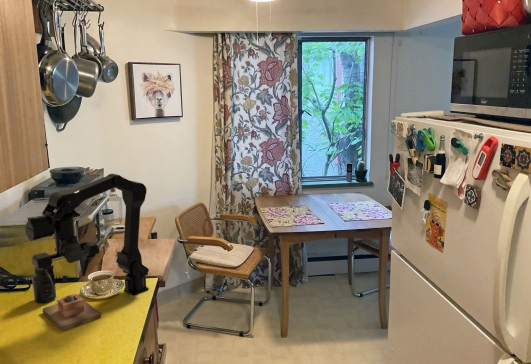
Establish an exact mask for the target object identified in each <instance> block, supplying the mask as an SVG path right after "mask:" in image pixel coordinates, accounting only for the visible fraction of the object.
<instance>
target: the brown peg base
mask: <svg viewBox="0 0 531 364" xmlns="http://www.w3.org/2000/svg"><path fill="white" fill-rule="evenodd" d="M66 296H67V303H68V302H71V301H74V297H73V295H72V294H69V295H66ZM84 310H85V311H83V312H80V313H77V314H74V315H71V316H68V317H64V316H63V315H62V314H61V313H60V312H59V311H58V304H57V303H55V304H52V305H49V306H45V307H43V308H42V313H43V314H44V315H45V317H47V318H48V319H49V321H51V322H52V323H53V324H54V325H55V326H56V327H57V328H58V329H59V330H60V332H65V331H68V330H70V329H72V328H76V327H78V326H81V325H83V324H86V323H89V322H92V321H95V320H98V319H101V318H102V315H101V312H100V311H99V310H97V309H96V308H95V307H94V306H92V305H91V304H90V303H89V302H87V301H86V300H85V299H84Z"/></svg>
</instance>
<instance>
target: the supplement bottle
mask: <svg viewBox="0 0 531 364" xmlns="http://www.w3.org/2000/svg"><path fill="white" fill-rule="evenodd" d="M31 281H32V290H33V298H34V302H35V303H36V304H38V305H39V304H41V305H42V304H48V303H52V302H53V301H55V300H56V298H57V289H56V284H55V285H53V283H52V282H51V280H50V278H49V276H48V275H47V273H46V271H45V270H43V269H38V268H37V267H36V266H35V267H34V275H33V276H32V278H31Z"/></svg>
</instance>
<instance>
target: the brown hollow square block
mask: <svg viewBox="0 0 531 364" xmlns="http://www.w3.org/2000/svg"><path fill="white" fill-rule="evenodd" d="M71 295H73V297H74V301H71V302H68V303H67V296H68V295H66V296H63V297H59V298H57V299H56V304H58V311H59V312H60V313H61V314H62V315H63V316H64V317H68V316H71V315H74V314H77V313H80V312H83V311H85V310H84V300H85V299H84V298H82V297H81V296H80V295H79V294H78V293H76V292H75V293H72V294H71Z"/></svg>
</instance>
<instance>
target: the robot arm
mask: <svg viewBox="0 0 531 364" xmlns="http://www.w3.org/2000/svg"><path fill="white" fill-rule="evenodd" d="M112 189H117V190H119V191H121V198H122V201H123V203H124V205H125V215H124V217H125V218H124V219H125V220H124V231H123V232H124V234H123V235H124V236H123V247H122V249H121V251H117V252H116V261H115V263H116V264H117V267H118V268H119V269H120V270H122V272H123V273H125V279H124V288H123V289H124V291H126V292H128V293H129V294H130V295H133V296H134V295H137V294H141V293H143V292H146V291H149V290H150V289H149V287H147V276H148V275H149V272H150V269H149V268H148V267H147V266H145V264H144V265H143V258H142V257H143V256H142V254H141V251H140V249H139V240H140V239H139V236H140V235H139V234H140V219H141V208H142V205H143V204H144V202H145V200H146V196H147V186H145V184H144V183H142V182H138V181H135V180H134V181H133V180H130V179H127V178H125V177H123V176H122V175H120V174H116V173H109V174H107V175H106V176H104V177H101V178H98V179H97V180H93V181H92V182H89V183H87V184H84V185H81V186H79V187H77V188H70V189H63V190H58V191H54V192H52V193H51V194H50V196H49V198H48V203H47V204H46V205H45V208H44V209H43V211H42V212H41V215H39V216H30V217H27V222H26V224H25V228H24V229H25V231H24V232H25V235H26V237H27V239H28V240H29V241H30V242H33V241H37V240H42V239H45V238H51V237H52V236H53V239H54V242H55V247H54V252H55V253H51V254H48V253H47V252H46V251H45V252H41V253H37V254H33V256H32V257H31V262H32V263H31V264H32V265H33V266H35V267H37V268H38V269H43V270H45V271H46V273H47V275H48V276H49V278H50V280H51V282H52V283H53V285H55V286H56V278H55V273H54V265H53V261H58V260H61V259H65V260H66V262H67V263H69V264H73V263H74V262H80V271H81V275H82V276H83V277H85V276H86V273H87V269H88V267H89V264H90V261H91V260H92V259H93V258H94V257H96V255H98V254H99V253H100V246H99V245H98V244H96V243H95V242H93V241H85V242H79V241H78V237H77V235H76V233H75V221H74V219H75V218H77V217H78V218H79V217H81V213H80V212H77V210H76V209H77V208H78V207H80V205H81V204H82V203H84V202H85V201H87V200H89V199H91V198H93V197H97V196H98V195H100V194H104V193H105V192H107V191H110V190H112Z"/></svg>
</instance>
